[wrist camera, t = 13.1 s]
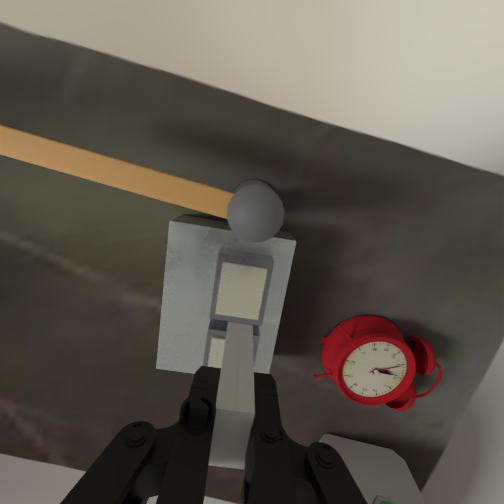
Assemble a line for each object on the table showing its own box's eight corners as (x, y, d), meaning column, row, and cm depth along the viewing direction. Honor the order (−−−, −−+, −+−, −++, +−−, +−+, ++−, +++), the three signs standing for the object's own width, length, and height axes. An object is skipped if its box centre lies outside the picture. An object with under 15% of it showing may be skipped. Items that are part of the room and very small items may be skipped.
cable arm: (276, 190, 29) (291, 194, 19) (265, 226, 30) (274, 248, 20) (67, 128, 27) (-45, 94, 17) (62, 168, 28) (-46, 159, 18)
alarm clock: (342, 314, 29) (485, 372, 28) (336, 295, 36) (453, 342, 34) (306, 391, 32) (435, 450, 30) (306, 361, 38) (413, 409, 36)
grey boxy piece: (169, 342, 34) (148, 383, 27) (187, 168, 29) (166, 162, 22) (264, 355, 34) (268, 399, 27) (297, 186, 29) (313, 187, 22)
